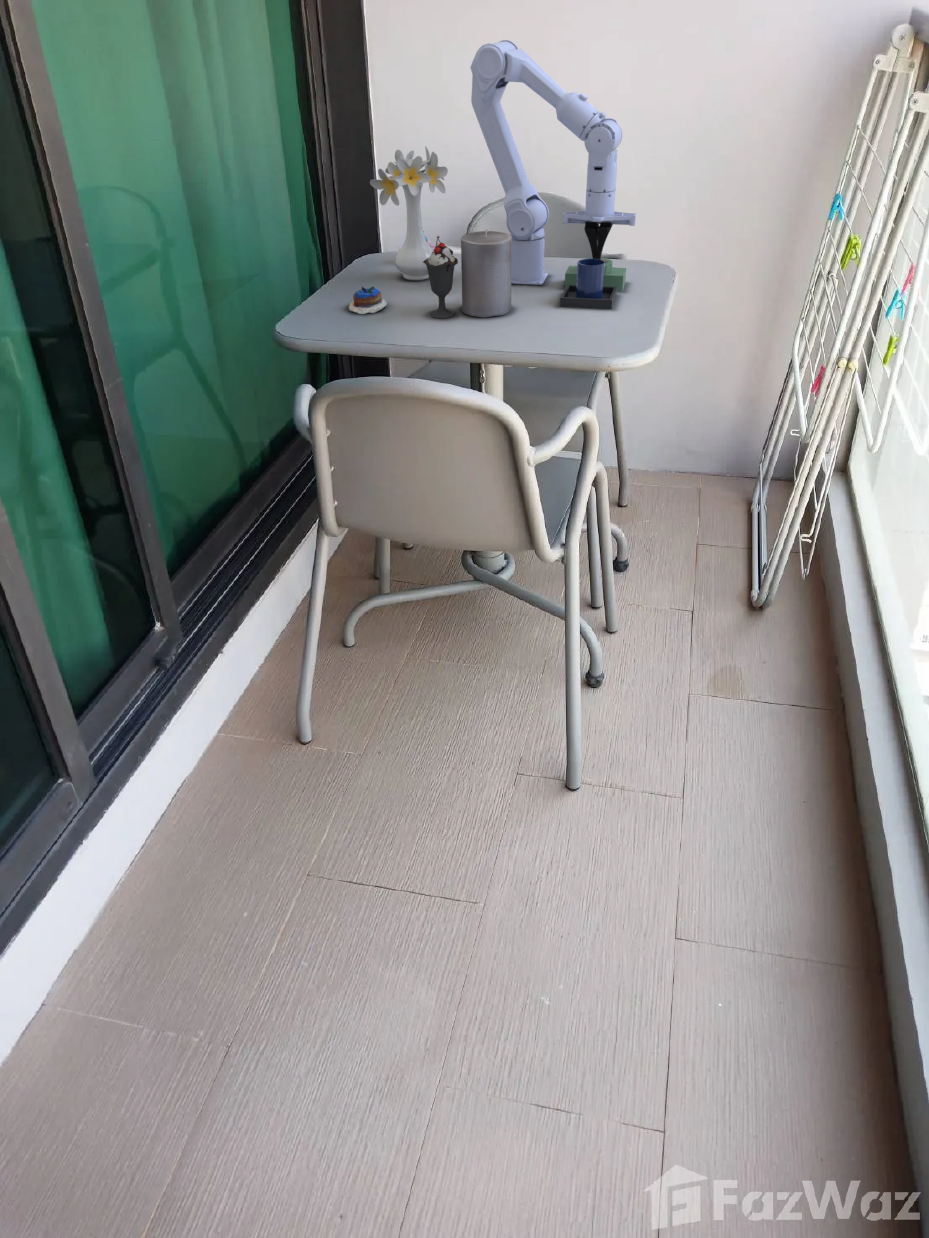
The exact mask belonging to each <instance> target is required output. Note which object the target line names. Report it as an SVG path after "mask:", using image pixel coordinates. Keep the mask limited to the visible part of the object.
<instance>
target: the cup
mask: <svg viewBox="0 0 929 1238" xmlns="http://www.w3.org/2000/svg"><path fill="white" fill-rule="evenodd" d="M588 258H589V259H586V258H582V259H579V260H578V261H577V263H576V266H577V279H576V298H593V299H602V297H603V284H604V269H605V262H604V261H603V260H600V259H592V257H588Z"/></svg>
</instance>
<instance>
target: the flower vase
mask: <svg viewBox="0 0 929 1238" xmlns="http://www.w3.org/2000/svg"><path fill="white" fill-rule="evenodd" d="M424 148H425V155H426V160H423V157H422V156H421V155H417V156H415V150H410V151H409V152H408V153H407V154H406V156H404V153H403V151H402V150H400V149H396V150H395V152H394V160H395V161H393V162H392V161H390V162H388V163H387V167H386V168H385V169H384V170H385V171H384V170H383V169H382V168H378V169H377V173H378V177H379V179H375V178H374V179H370V181H369V184H370V186H371V187H372V188H373V189H375V190H378V191H379V190H380V191H381V192H380V194H379V204H380V205H381V206H385V205H387V203H388V201H389V199H390V200H391V202H392V203H393V204H394V205H395V206H397V207H398V206H400V200H399V197H398V194H397V190H398V189H399V187H402V189H403V193H404V198H405V204H406V234H405V239H404V242H403V245H401V246H402V247H401V246H400V247H401V249H400V250H399V249H398V251H397V253H396V255H395V258H394V259H395V260H394V264H395V266H396V268H397V269H398V270H399V272H400V273H402V277H403V278H404V279H405V280H408V281H424V280H427V279H428V280H429V275H428V270H427V266H426V264H425V263H423V261H425V260H426V259H427V258H429V257H430V256H431V254H432V252H433V249H432V248H431V247H430V246H429V245H428V243H427V241H426V239H425V237H424V235H425V233H424V234H423V231H424V230H423V222H422V220H423V219H422V209H421V198H422V197H421V196H422V190H423V189H422V188H423V186H424V184H426V183H427V184H428V188H429V192H430V193H434V192H435V189H436V188H437V189H438V191H439V192H440V193H442V194H445V193H446V187H445V184H444V183H443V181H445V177H446V176H447V175H448V172H449V169H448V168H447V167H446V166H439V158H438V155H437V153H435V152H434V151H431V154H430V151H429V149H428V147H427V146H426V145H425V147H424ZM414 156H415V157H414ZM423 168H424V169H423ZM421 169H422V170H421ZM388 175H390V176H388Z"/></svg>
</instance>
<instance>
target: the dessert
mask: <svg viewBox="0 0 929 1238" xmlns="http://www.w3.org/2000/svg"><path fill="white" fill-rule="evenodd" d="M382 297H383V295H382V293H381V291H380V290H379V289H378V288H376V287H375V286H371V287H369V288H366V287H364V286H361V289H359V290H357V291H355V293H354V294H353V295H352V300H353V301H351V302H350V303H349V306H348V310H349V311H350V312H353V313H356V314H359V315H365V314H368V313H371V314H375V313H377V312H379V311H380V310H382V309H384V307H386V306H387V305H388V302H387V301H386V300H385V299H384V298H382Z"/></svg>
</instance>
